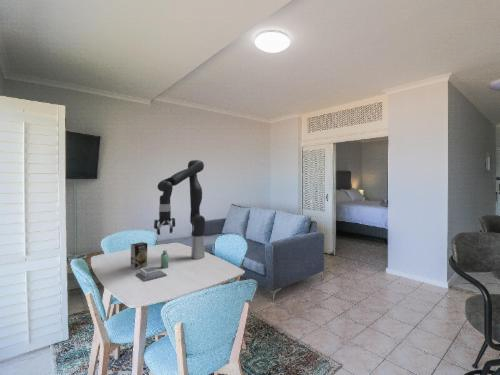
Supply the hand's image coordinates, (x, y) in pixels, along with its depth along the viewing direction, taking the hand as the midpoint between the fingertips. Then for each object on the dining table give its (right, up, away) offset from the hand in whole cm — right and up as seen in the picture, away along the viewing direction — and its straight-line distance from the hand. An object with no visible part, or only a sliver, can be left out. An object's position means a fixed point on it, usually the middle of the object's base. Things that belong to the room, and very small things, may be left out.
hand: (164, 233), depth 183 cm
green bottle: (0, -23, +1) cm, 23 cm away
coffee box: (-18, -23, +1) cm, 29 cm away
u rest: (-4, -24, -14) cm, 28 cm away
